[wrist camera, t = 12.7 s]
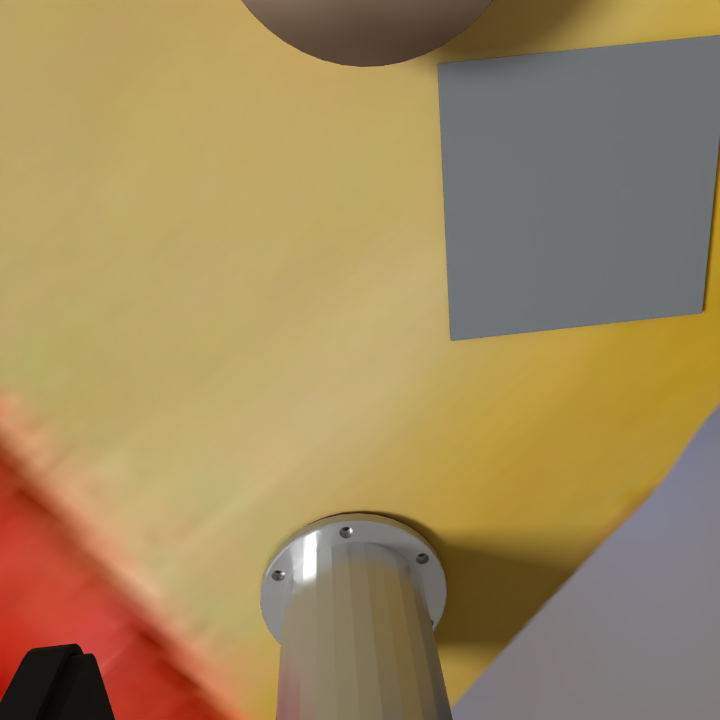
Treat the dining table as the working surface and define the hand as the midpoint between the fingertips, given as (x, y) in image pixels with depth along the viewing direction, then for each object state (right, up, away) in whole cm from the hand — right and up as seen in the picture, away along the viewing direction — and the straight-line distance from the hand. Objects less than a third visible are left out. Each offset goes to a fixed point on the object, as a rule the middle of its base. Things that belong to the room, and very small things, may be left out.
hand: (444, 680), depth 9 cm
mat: (+11, +13, +28) cm, 33 cm away
